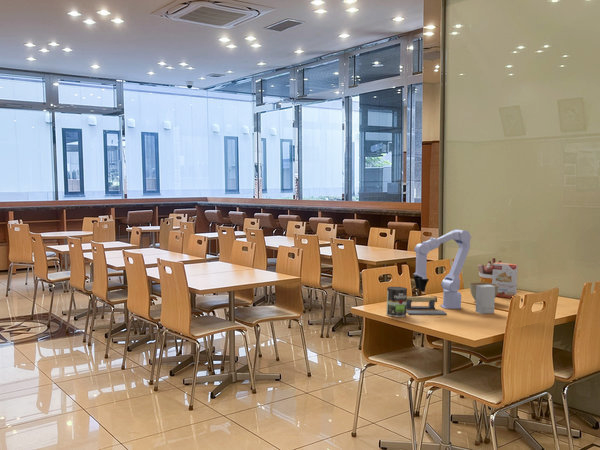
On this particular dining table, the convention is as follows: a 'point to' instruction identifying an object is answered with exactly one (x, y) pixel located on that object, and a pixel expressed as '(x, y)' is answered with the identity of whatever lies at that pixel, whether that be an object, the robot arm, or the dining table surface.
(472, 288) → the planter bowl
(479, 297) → the skincare box
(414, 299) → the rail
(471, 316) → the dining table surface
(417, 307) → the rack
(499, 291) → the cracker box
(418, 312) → the mat
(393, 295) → the coffee can
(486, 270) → the bucket of meat
